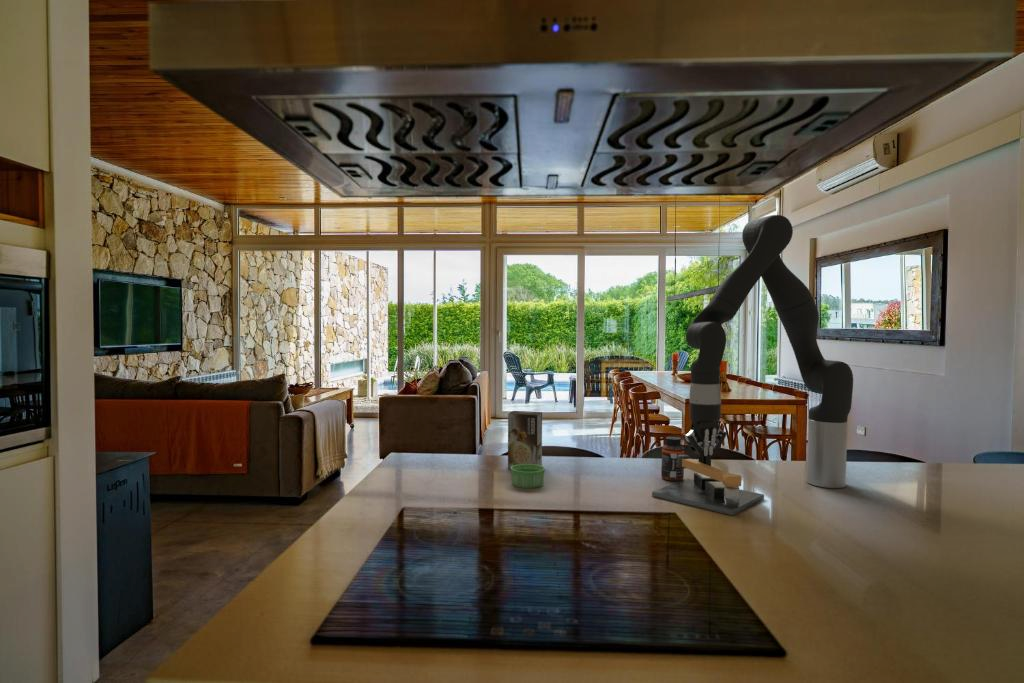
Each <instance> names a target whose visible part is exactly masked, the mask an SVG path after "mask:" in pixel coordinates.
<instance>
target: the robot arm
mask: <svg viewBox="0 0 1024 683" xmlns="http://www.w3.org/2000/svg"><path fill="white" fill-rule="evenodd" d="M793 231H794V229H793V225H792V223H791V222H790V220H789V218H787V217H786V216H784V215H783V214H782V215H781V214H772V215H767V216H762V217H760V218H756V219H752V220H750V221H748V222H746V224H745V226H743V230H742V235H741V237H742V243H743V245H744V248H745V250H746V251H747V253H748V255H747V256H746V257H745V258H744V260H743V261H742V262H741V263H740V264H739V265H738V266H737V267H735V269H734V270H733V271H732V272H730V273H729V275H728V276H726V277H725V278H724V280H723V281H722V282H721V283H720V285H719V286H718V288H717V290H716V291H715V292H714V294H713V296H712V297H711V299H710V301H709V302H708V304H707V305H706V306H705V307H704V308H703V309H702V310H701V311H700V312H699V313H697V315H696V316H695V318H693V320H692V321H691V322H690V323H689V325H688V328H687V329H686V334H685V340H686V343H687V345H688V346H689V347H690V348H692V349H695V350H699V352H698V357H697V359H695V360H694V361H692V362H691V365H690V386H689V387H690V388H689V416H688V417H689V420H690V421H691V423H690V426H689V429H690V430H689V432H688V433H683V434H682V438H683V440H684V442H685V443H686V444H687V446H688V447H689V449H690V452H692V453H694V454H697V455H698V462H701V463H703V464H706V465H709V466H711V467H712V456H713V454H714V453H718V451H719V450H720V448H721V445H722V444H723V442H724V440H725V439H726V438H727V434H728V433H727V431H724V430H722V429H721V426H720V424H719V421H721V420H722V390H721V365H722V361H723V358H724V353H725V350H726V344H727V336H726V335H727V334H726V331H725V328H724V327H723V326H722V325H723V324H724V323H727V322H730V321H731V320H733V318H734V317H735V316H736V314H737V313H738V311H739V310H740V308H741V307H742V306H743V303H744V302H745V300H746V298H747V297H748V295H749V294H750V292H751V291H752V289H753V288H754V287H755V285H756V284H757V282H758V281H759V280H760V278H761V279H762V280H763V283H764V285H765V287H766V290H767V293H768V294H769V296H770V299H771V301H772V303H773V305H774V309H775V311H776V313H777V315H778V318H779V320H780V322H781V324H782V326H783V329H784V331H785V333H786V336H787V338H788V340H789V343H790V346H791V347H792V350H793V353H794V355H795V356H794V357H795V359H796V364H797V366H798V369H799V373H800V376H801V379H802V381H803V384H804V385H805V387H806V388H807V389H808V390H809V391H811V393H812V392H813V393H815V394H820V395H821V401H820V402H819V404H817V405H816V406H813V407H810V408H809V409H808V415H807V418H808V420H807V425H808V426H807V453H806V454H807V455H806V456H807V457H806V458H807V459H806V483H808V484H810V485H813V486H816V487H821V488H827V489H842V488H845V487H846V481H847V480H846V479H847V478H846V477H847V475H846V474H847V449H848V446H847V444H848V441H847V440H848V417H849V414H850V412H851V410H852V404H853V403H852V401H853V400H852V399H853V392H854V390H853V389H854V375H853V374H854V373H853V371H852V369H851V367H850V365H849V364H847V363H846V362H844V361H840V360H828V359H825V358H824V356H823V354H822V352H821V350H820V347H819V345H818V342H817V341H818V340H817V333H818V326H819V322H820V316H819V314H820V313H819V310H818V308H817V305H816V303H815V299H814V298H813V295H812V293H811V291H810V289H809V287H807V285H806V284H805V283H804V282H803V281H802V280H801V279H800V278H799V277H798V276H796V275H795V274H794V272H792V271H791V269H790V268H788V266H787V265H786V264H785V263H784V261H783V259H782V257H781V253H783V252H784V250H785V249H786V248H787V246H788V245H789V244H790V242H791V241H792V238H793Z"/></svg>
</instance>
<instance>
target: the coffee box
mask: <svg viewBox="0 0 1024 683" xmlns="http://www.w3.org/2000/svg"><path fill="white" fill-rule="evenodd" d="M507 421H508V422H507V469H510V470H511V466H513V465H517V464H536V465H541V466H543V412H541V411H540V412H539V411H526V410H525V411H523V410H512V411H510V412H509V413H508V414H507Z"/></svg>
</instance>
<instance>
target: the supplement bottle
mask: <svg viewBox="0 0 1024 683" xmlns="http://www.w3.org/2000/svg"><path fill="white" fill-rule="evenodd" d="M680 454H682V455H685V447H684V446H683V444H682V438H681V437H678V436H677V437H676V436H666V437H665V444H663V445H662V448H661V468H660V469H661V470H660V471H661V472H660V474H661V476H660V477H661V479H663V480H666V481H671V482H680V481H683V480H684V475H685V474H684V473H685V471H684V470H685V469H684V468H678V467H677V462H678V455H680Z"/></svg>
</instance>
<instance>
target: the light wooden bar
mask: <svg viewBox="0 0 1024 683" xmlns="http://www.w3.org/2000/svg"><path fill="white" fill-rule="evenodd" d="M677 467H678V468H684V470H685V469H688V470H690V471H693V472H695V473H700V474H702V475H705V476H707V477H710V478H712V479H715V480H718V481H720V482H723V483H722V484H723V485H726V486H731V487H739V488H740V487H742V475H740V474H736V473H730V472H727V471H725V470H723V469H719V468H717V467H714V466H712V465H711V466H709V465H706V464H703V463H701V462H699V460H698V461H697V460H695V459H692V458H690V455H688V454H684V455H682V454H680V455H678V462H677Z"/></svg>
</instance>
